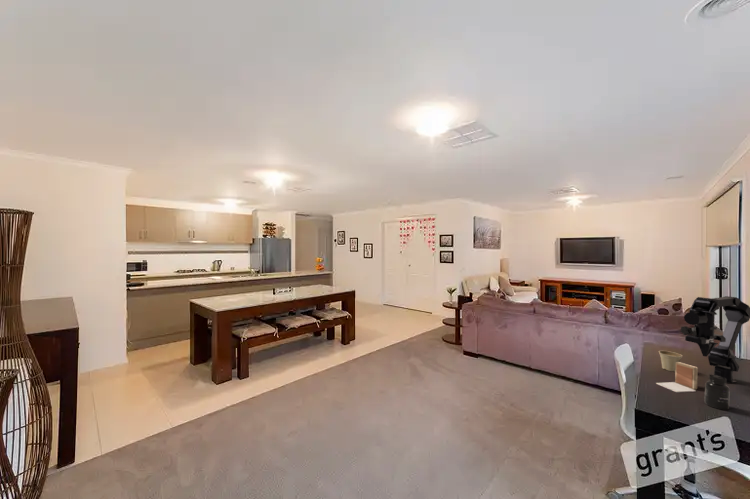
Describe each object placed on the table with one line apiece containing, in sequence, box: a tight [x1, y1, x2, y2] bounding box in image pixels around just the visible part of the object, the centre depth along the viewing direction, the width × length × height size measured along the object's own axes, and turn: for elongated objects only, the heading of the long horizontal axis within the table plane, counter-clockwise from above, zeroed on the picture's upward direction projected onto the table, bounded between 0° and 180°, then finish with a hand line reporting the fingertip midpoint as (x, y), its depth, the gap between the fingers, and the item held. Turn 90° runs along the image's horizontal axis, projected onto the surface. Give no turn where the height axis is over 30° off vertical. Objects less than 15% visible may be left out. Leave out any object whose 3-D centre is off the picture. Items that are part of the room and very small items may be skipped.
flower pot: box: [658, 350, 684, 373], centre depth 168 cm, size 9×9×9 cm
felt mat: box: [655, 381, 697, 393], centre depth 145 cm, size 10×9×1 cm
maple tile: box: [674, 361, 699, 390], centre depth 147 cm, size 3×7×10 cm, turn 16°
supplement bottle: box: [704, 374, 731, 411], centre depth 128 cm, size 7×7×12 cm
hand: (704, 356), depth 151 cm, fingers closed
